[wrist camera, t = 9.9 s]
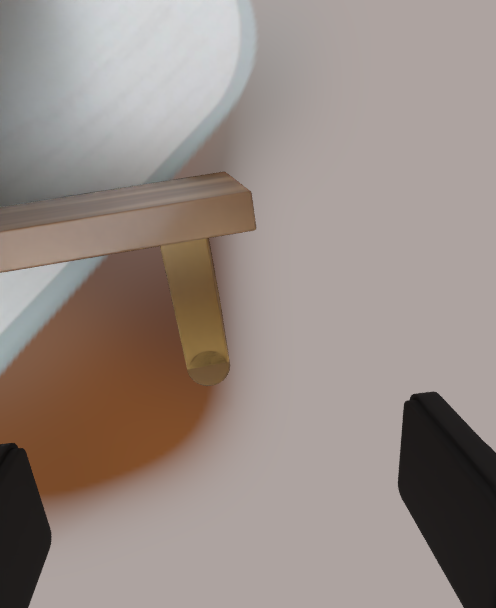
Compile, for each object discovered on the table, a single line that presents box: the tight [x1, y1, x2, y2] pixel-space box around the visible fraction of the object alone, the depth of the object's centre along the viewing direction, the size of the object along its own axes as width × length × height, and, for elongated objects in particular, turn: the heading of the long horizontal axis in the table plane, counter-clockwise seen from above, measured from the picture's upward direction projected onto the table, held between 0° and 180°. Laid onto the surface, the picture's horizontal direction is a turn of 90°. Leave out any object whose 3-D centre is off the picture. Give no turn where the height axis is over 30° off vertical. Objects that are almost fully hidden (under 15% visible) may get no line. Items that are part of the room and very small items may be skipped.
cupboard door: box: [0, 172, 256, 386], centre depth 16 cm, size 6×14×10 cm, turn 98°
